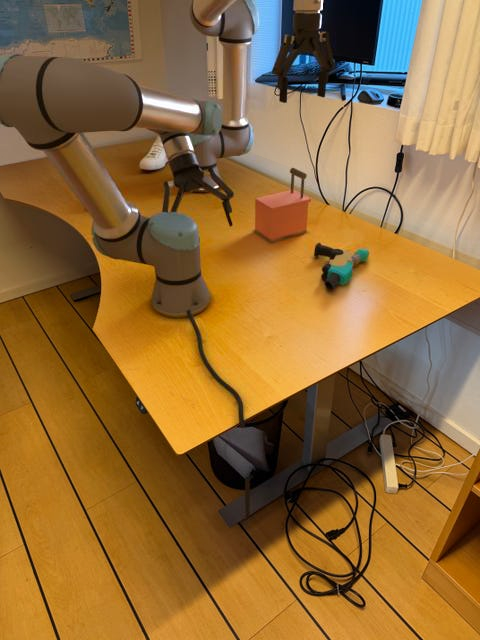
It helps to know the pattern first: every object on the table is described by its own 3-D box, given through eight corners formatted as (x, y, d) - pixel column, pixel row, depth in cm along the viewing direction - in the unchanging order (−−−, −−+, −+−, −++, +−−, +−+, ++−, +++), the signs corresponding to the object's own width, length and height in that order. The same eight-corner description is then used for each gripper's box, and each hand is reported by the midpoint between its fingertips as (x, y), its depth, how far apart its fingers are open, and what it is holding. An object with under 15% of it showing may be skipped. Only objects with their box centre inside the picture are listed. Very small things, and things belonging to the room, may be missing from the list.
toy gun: (291, 271, 128) (345, 285, 123) (324, 234, 147) (372, 245, 141) (290, 285, 131) (343, 299, 125) (322, 247, 150) (369, 258, 144)
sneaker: (133, 173, 208) (129, 144, 201) (161, 153, 230) (158, 127, 223) (155, 175, 205) (151, 146, 198) (180, 155, 227) (178, 129, 220)
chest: (289, 222, 165) (290, 193, 159) (306, 232, 159) (308, 202, 152) (254, 231, 160) (255, 201, 154) (270, 242, 153) (271, 211, 147)
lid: (293, 192, 160) (294, 165, 154) (310, 201, 153) (313, 173, 147) (255, 201, 154) (255, 173, 148) (271, 211, 147) (272, 182, 141)
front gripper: (225, 148, 131) (250, 221, 132) (139, 176, 131) (165, 249, 131) (226, 138, 124) (251, 216, 125) (135, 168, 123) (161, 246, 124)
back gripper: (276, 15, 118) (273, 106, 130) (353, 10, 128) (344, 96, 140) (260, 13, 123) (259, 102, 135) (335, 9, 133) (328, 92, 145)
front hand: (207, 233), depth 128 cm, fingers open, 13 cm apart
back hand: (302, 99), depth 138 cm, fingers open, 13 cm apart
